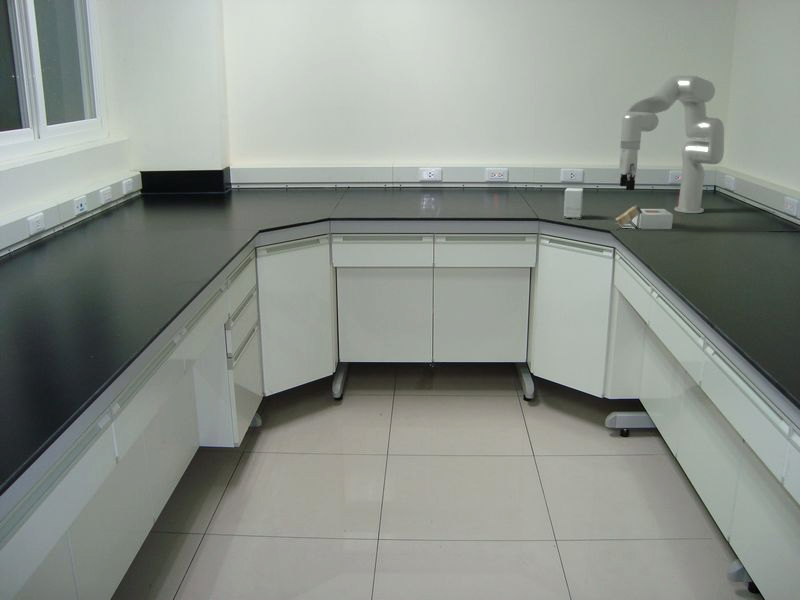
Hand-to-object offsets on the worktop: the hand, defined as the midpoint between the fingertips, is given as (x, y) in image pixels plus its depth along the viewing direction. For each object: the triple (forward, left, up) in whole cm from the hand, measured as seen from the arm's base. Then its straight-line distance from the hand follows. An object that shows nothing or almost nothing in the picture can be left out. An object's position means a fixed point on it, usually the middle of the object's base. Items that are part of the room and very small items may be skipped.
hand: (626, 188), depth 299 cm
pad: (0, 0, -16) cm, 16 cm away
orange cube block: (-3, +12, -16) cm, 20 cm away
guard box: (-3, +12, -16) cm, 20 cm away
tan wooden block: (0, -2, -14) cm, 15 cm away
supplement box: (-20, -17, -17) cm, 31 cm away
